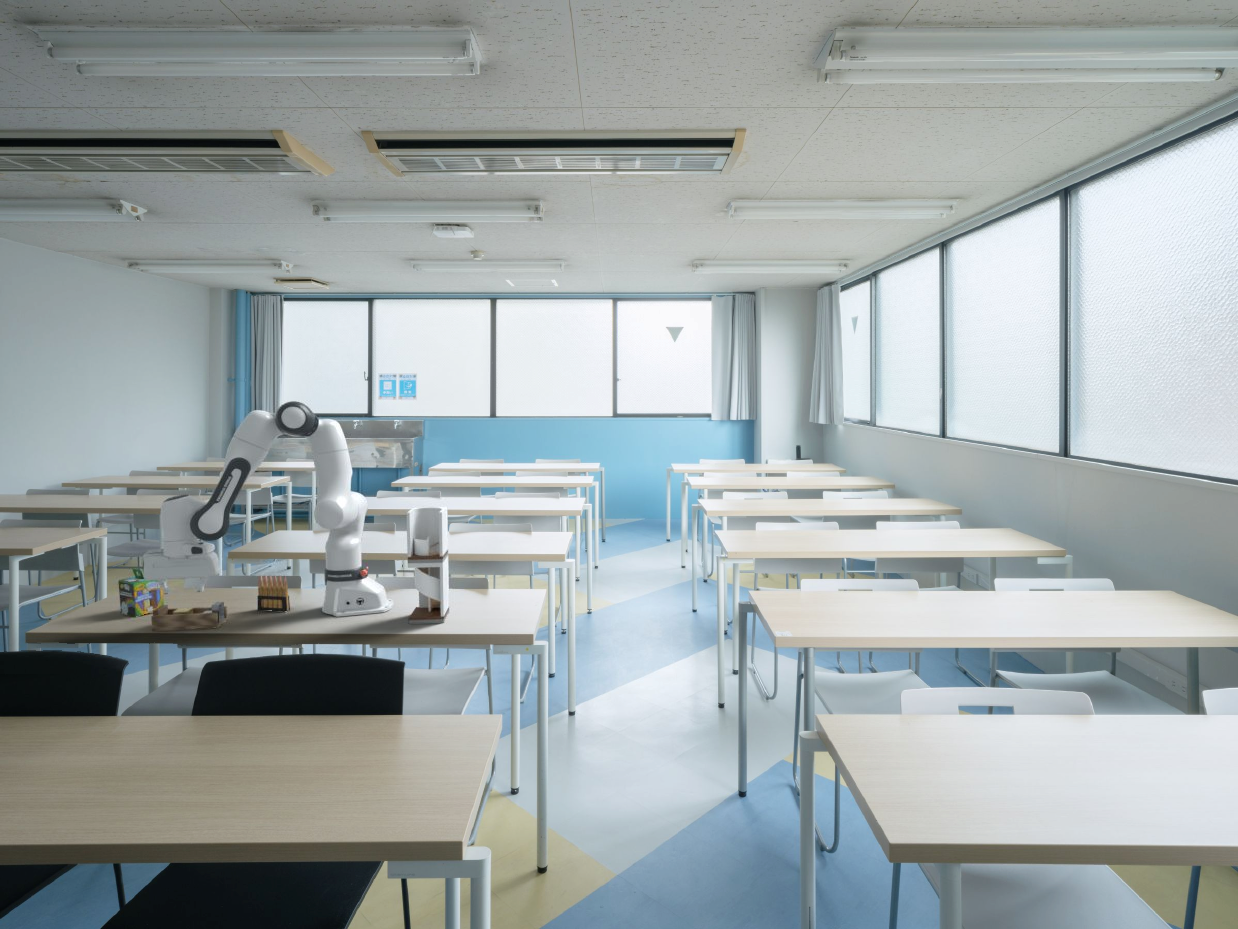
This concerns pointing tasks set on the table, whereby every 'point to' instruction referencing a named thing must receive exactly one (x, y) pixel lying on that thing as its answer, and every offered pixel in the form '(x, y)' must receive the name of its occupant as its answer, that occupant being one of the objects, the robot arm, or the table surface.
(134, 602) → the chalk box
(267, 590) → the ammunition clip
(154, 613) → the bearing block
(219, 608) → the grey metal block
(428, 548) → the spiral staircase model
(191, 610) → the spacer
